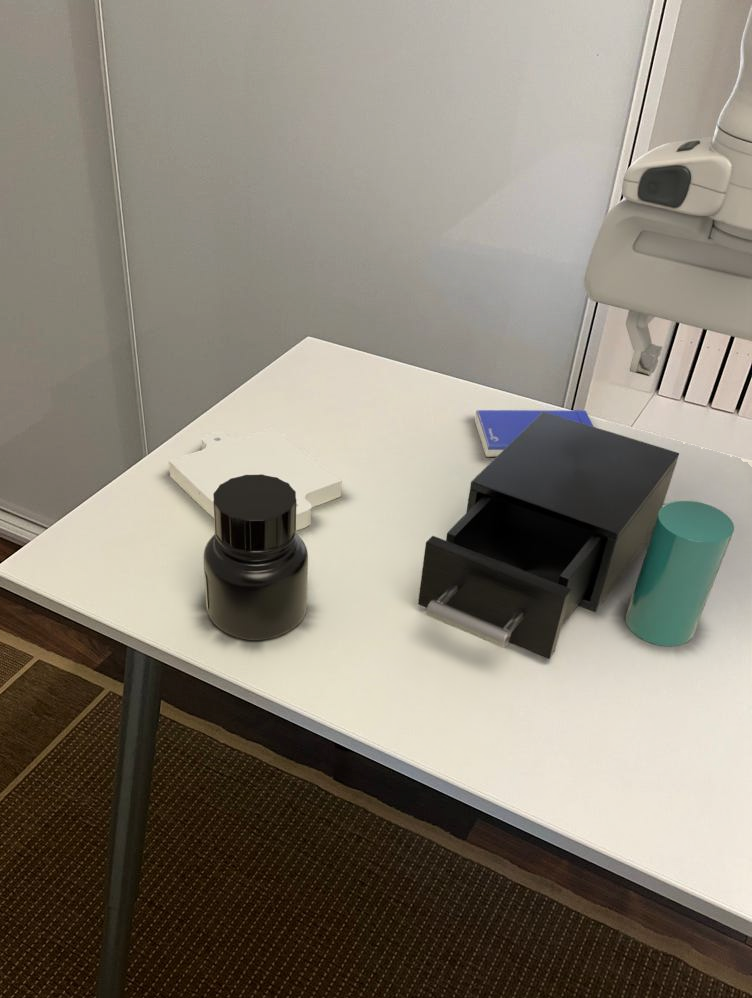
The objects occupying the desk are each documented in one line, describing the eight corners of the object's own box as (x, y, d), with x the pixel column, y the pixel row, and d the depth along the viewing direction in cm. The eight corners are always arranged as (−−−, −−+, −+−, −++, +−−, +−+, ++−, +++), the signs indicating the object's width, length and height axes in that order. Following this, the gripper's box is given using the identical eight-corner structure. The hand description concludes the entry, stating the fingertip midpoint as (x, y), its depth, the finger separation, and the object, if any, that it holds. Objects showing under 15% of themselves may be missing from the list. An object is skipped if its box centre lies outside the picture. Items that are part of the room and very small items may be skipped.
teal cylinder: (703, 619, 86) (743, 515, 78) (681, 655, 82) (721, 550, 75) (638, 594, 88) (672, 492, 81) (615, 629, 85) (648, 525, 77)
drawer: (527, 689, 78) (543, 625, 73) (393, 630, 83) (400, 567, 79) (613, 572, 89) (631, 510, 85) (490, 526, 95) (501, 466, 90)
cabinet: (595, 612, 86) (618, 533, 81) (458, 558, 92) (470, 481, 87) (655, 528, 96) (679, 452, 90) (527, 484, 102) (542, 411, 96)
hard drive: (488, 445, 105) (603, 445, 105) (476, 408, 111) (585, 408, 111) (486, 458, 106) (600, 458, 106) (474, 420, 112) (582, 420, 112)
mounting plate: (159, 465, 105) (157, 450, 103) (260, 432, 110) (260, 417, 109) (246, 549, 93) (246, 533, 92) (355, 508, 99) (356, 492, 97)
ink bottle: (265, 565, 92) (264, 454, 84) (330, 610, 87) (335, 497, 79) (183, 609, 87) (173, 496, 79) (247, 659, 82) (244, 544, 74)
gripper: (973, 203, 57) (873, 414, 67) (635, 143, 66) (588, 337, 75) (959, 234, 53) (855, 453, 63) (601, 165, 62) (556, 367, 71)
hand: (707, 389), depth 69 cm, fingers open, 8 cm apart
